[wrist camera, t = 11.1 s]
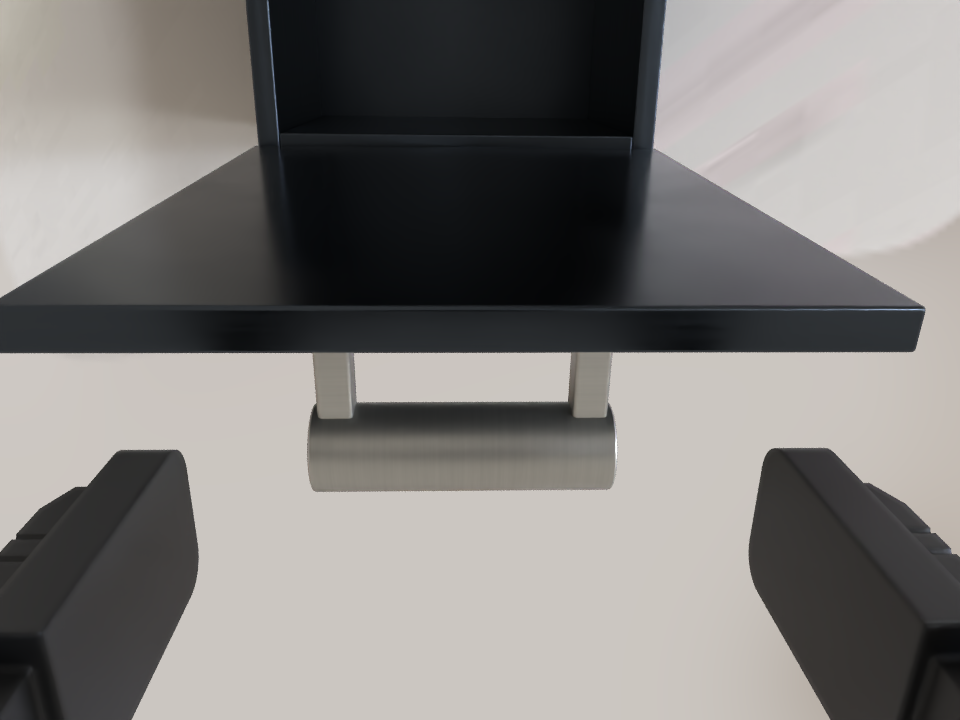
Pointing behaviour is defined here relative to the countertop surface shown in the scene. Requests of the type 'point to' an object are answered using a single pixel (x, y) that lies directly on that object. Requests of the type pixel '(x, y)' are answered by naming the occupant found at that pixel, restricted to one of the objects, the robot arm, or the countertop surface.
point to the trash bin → (456, 72)
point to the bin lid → (456, 293)
